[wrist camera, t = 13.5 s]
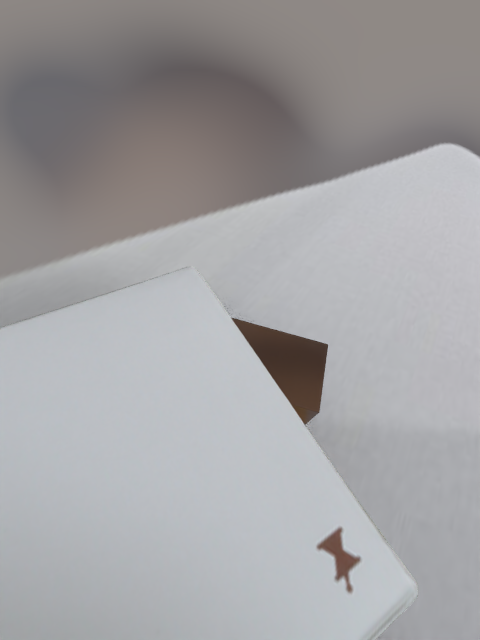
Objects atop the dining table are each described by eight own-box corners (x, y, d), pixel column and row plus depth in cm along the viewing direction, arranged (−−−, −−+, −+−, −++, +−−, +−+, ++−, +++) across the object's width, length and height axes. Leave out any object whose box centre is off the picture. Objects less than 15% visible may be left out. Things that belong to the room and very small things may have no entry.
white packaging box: (193, 426, 18) (204, 253, 8) (267, 574, 15) (451, 605, 4) (46, 502, 15) (-238, 383, 5) (96, 708, 12) (-478, 1656, 2)
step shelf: (234, 784, 14) (252, 925, 9) (-33, 692, 14) (-149, 780, 10) (302, 378, 23) (328, 344, 19) (141, 333, 24) (126, 288, 19)
